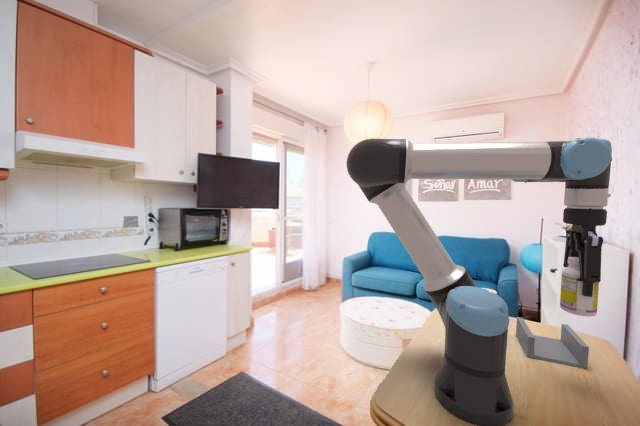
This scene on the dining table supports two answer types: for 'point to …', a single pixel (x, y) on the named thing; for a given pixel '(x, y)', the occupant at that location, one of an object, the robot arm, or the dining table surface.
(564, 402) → the dining table surface
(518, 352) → the dining table surface
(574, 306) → the supplement bottle
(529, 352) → the u cradle
